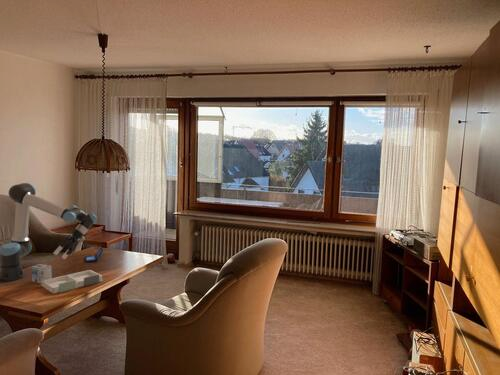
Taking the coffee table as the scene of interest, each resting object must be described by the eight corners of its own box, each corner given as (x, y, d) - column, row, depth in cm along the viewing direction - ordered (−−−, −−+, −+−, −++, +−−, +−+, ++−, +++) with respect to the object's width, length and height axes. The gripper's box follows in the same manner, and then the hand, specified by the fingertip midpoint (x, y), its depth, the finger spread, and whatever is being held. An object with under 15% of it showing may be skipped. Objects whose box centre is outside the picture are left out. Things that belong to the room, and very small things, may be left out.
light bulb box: (31, 282, 263) (31, 266, 262) (39, 278, 269) (39, 263, 268) (44, 283, 260) (43, 268, 259) (52, 280, 266) (51, 265, 265)
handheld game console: (85, 257, 322) (84, 246, 321) (102, 256, 327) (102, 245, 326) (84, 263, 307) (84, 251, 306) (103, 261, 312) (102, 250, 311)
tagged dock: (53, 294, 243) (53, 285, 242) (41, 285, 256) (41, 277, 255) (104, 281, 267) (103, 273, 266) (90, 274, 280) (90, 267, 280)
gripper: (91, 237, 275) (70, 262, 266) (75, 232, 292) (55, 255, 282) (83, 231, 271) (62, 256, 261) (68, 226, 287) (47, 249, 278)
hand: (58, 256), depth 271 cm, fingers open, 13 cm apart
